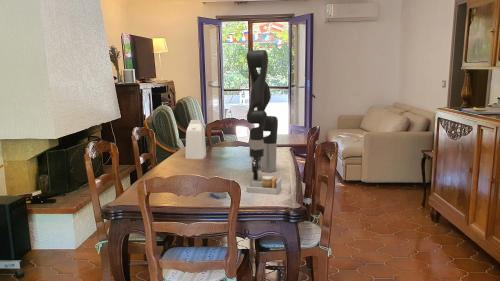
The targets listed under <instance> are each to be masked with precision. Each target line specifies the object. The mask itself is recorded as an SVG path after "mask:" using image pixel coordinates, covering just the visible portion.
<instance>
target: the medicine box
mask: <svg viewBox="0 0 500 281" xmlns="http://www.w3.org/2000/svg"><path fill="white" fill-rule="evenodd" d="M209 196H211V197H214V198H216V199H219V200H221V199H225V198H226V197H227V193H210V192H209Z"/></svg>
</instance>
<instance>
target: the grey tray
mask: <svg viewBox="0 0 500 281" xmlns="http://www.w3.org/2000/svg"><path fill="white" fill-rule="evenodd" d="M281 189H282V176H279V177H278V179H277V180H276V189H273V188H262V181H253V180H251V182H250V186H246V193H255V194H266V193H270V195H279V193H280V191H281Z"/></svg>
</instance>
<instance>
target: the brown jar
mask: <svg viewBox="0 0 500 281" xmlns="http://www.w3.org/2000/svg"><path fill="white" fill-rule="evenodd" d="M273 178H274V177H273V175H263V176H262V175H261V182H262V187H261V188H272V180H273Z"/></svg>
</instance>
